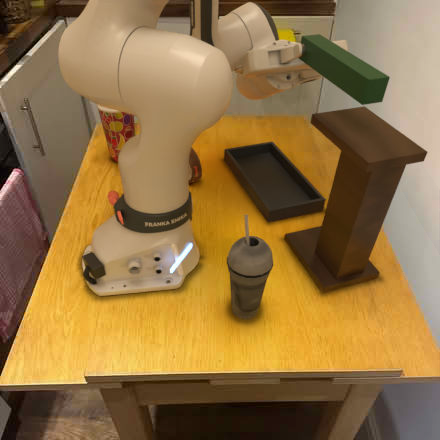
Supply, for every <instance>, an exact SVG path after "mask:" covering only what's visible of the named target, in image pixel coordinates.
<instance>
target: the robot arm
mask: <svg viewBox="0 0 440 440" xmlns="http://www.w3.org/2000/svg"><path fill="white" fill-rule="evenodd" d="M169 1H170V0H88V2H87V4H86V5H85V7H84V9H83V10H82V12H81V13H80V15H79V16H78V17H76V19H75V20H73V22H71V23H70V24H69V25H67V26H66V28H65V30H64V31H63V32H62V34H61V38H60V40H59V44H58V55H57V56H58V66H59V69H60V72H61V75H62V78H63V80H64V82H65V84H66V85H67V86H68V88H70V89H71V90H72V91H73V92H75V93H76V94H78V95H80V96H81V97H83V98H85V99H87V100H88V101H90V102H92V103H94V104H95V105H96V106H97V105H100V106H103V107H107V108H111V109H114V110H118V111H121V112H125V113H128V114H132V115H134V117H136V119H137V121H138V123H139V130H140V131H139V132H140V133H138V134H135V136H134V137H132V138H130V139H129V140H128V141H127V142H126V143H125V144H124V145H123V147H122V149H121V151H120V153H119V156H118V162H117V165H118V170H119V177H120V182H121V187H122V194H121V196H120V194H119V192H118V191H116V190H110V191H108V193H107V199H108V202H109V204H110V205H111V206H113V211H114V212H113V213H114V214H112V215H111V216H109V218H107V219H106V220H105V221H104V222H102V223H101V224H100V225H99V226H97V227H96V228H95V230H94V231H93V233H92V237H91V244H89V245H87V246H86V248H85V249H84V252H83V255H81V258H82V259H81V260H82V261H81V265H82V272H83V275H82V276H83V278H84V280H85V282H86V285H87V286H88V288H89V289H90V290H91V291H92V292H93V293H94V294H95V295H97V296H99V297H106V296H115V295H117V296H118V295H127V294H137V293H138V294H139V293H146V292H156V291H166V290H167V291H168V290H176V289H179V288H181V286H183V283H184V281H185V279H186V277H187V276H188V275H189V274H190V273H191V272H192V271H193V270H194V269H196V266H197V265H198V263H199V261H200V255H201V253H200V249H199V247H198V244H197V242H196V238H195V235H194V229H193V224H192V221H193V214H194V206H193V197H192V192H191V191H190V187H189V184H190V183H189V178H188V175H189V155H190V151H191V148H193V145H194V143H195V141H196V140H197V139H198V137H199V136H200V135H201V134H202V133H203V132H205V131H207V130H209V129H210V128H212V127H213V126H214V125H216V124H217V123H218V122H220V120H221V119H222V117H224V115H225V113H226V112H227V110H228V108H229V106H230V104H231V100H232V96H233V91H234V80H233V79H234V78H233V77H234V76H233V72H234V73H235V74H236V77H235V83H236V84H235V85H236V88H237V90H238V92H239V93H240V94H241V95H242V96H243V97H245V98H246V99H248V100H252V101H259V100H265V99H267V98H271V97H273V96H274V95H276V94H280V93H282V92H285V91H287V90H290V89H293V88H295V87H297V86H299V85H302V84H305V83H310V82H314V81H317V80H320V79H322V77H323V76H322V75H321V74H319V73H318V72H316V71H315V70H314V69H312V68H311V67H310V66H308V65H307V64H305V63H304V62H303V61H301V60H300V59H299V57H303V56H305V55H306V53H307V50H306V44H305V43H303V44H301V42H295V41H290V40H287V39H280V38H279V37H280V36H279V32H278V29H277V26H276V23H275V21H274V19H273V17H272V15H271V13H269V11H268V10H267V9H265V7H264V6H262V5H260V4H259V3H256V2H253V1H247V2H246V3H244V4H242V5H241V6H239V7H237V8H235V9H233V10H232V11H230V12H229V13H227V14H226V15H223V16H222V17H220V18H219V0H189V34H184V33H179V32H176V31H175V32H174V31H170V30H164V29H160V28H157V27H158V26H157V25H158V22H159V19H160V16H161V13H162V12H163V10H164V8H165V7H166V6H167V4H168V3H169ZM330 41H331V42H333V43H335V44H336V45H338V46H340V47H341V48H343V49H345V50H346V51H348V52H349V46H348V41H347V40H346V39H339V40H330Z"/></svg>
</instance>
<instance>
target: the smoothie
mask: <svg viewBox="0 0 440 440" xmlns="http://www.w3.org/2000/svg"><path fill="white" fill-rule="evenodd" d="M96 107H97V111H98V114H99V118H100V121H101V125H102V129H103V133H104V137H105V141H106V146H107V149H108V152H109V153H108V154H109V156H110V157H111V158H112V160H113V161H114V162H117V163H118V156H119V153H120V151H121V149H122V147H123V145H124V144H125V143H126V142H127V141H128V140H129V139H130V138H132V137H134V136H136V124H135V116H134V115H132V114H128V113H125V112H121V111H118V110H114V109H111V108H107V107H103V106H100V105H97V104H96Z"/></svg>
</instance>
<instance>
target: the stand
mask: <svg viewBox="0 0 440 440" xmlns="http://www.w3.org/2000/svg"><path fill="white" fill-rule="evenodd" d="M310 124H311V125H312V126H313V127H314V128H315V129H317V130H318V131H319V132H320V133H321V134H322V135H323V136H324V137H325V138H326V139H328V140H329V141H330V142H331V143H332V144H333V145H334V146H335V147H337V148H338V149H339V150H340V152H339V153H340V154H339V157H338V161H337V165H336V168H335V172H334V177H333V181H332V185H331V188H330V192H329V195H328V199H327V203H326V208H325V211H324V215H323V219H322V222H321V225H319V226H315V227H311V228H310V227H309V228H306V229H301V230H295V231H292V232H287V233H285V234H284V242H285V243H286V244H287V245H288V247H289V248H290V249H291V251H292V253H293V254H294V255H295V256H296V258H297V259H298V261H299V262H300V264H301V265H302V267H303V268H304V269H305V271H306V272H307V273H308V274H309V276H310V278H311V280H313V282H314V283H315V284H316V286H317V288H318V289H319V290H320V292H321V293H328V292H332V291H335V290H339V289H341V288H342V289H343V288H346V287H350V286H354V285H358V284H361V283H364V282H368V281H372V280H375V279H378V278H379V276H380V274H381V272H380V271H379V270H378V269H377V267H376V266H375V265H374V264H373V262H372V261H370V258H371V255H372V252H373V250H374V248H375V245H376V242H377V240H378V237H379V235H380V232H381V230H382V227H383V224H384V222H385V220H386V217H387V214H388V212H389V209H390V207H391V204H392V202H393V199H394V197H395V194H396V192H397V189H398V187H399V184H400V183H401V182H400V181H401V179H402V177H403V174H404V171H405V169H406V167H407V165H411V164H417V163H422V162H424V161H425V159H426V157H427V155H428V153H429V151H427V150H426V149H424V148H423V147H421V146H420V145H419V144H418V143H416V142H415V141H413V140H412V139H410V138H409V137H408V136H407V135H405V134H404V133H402V132H401V131H399V130H398V129H397V128H395V127H394V126H393V125H391V124H390V123H389V122H387V121H385V120H384V119H383V118H381V117H380V116H379V115H377V114H376V113H374V111H371V110H370V109H369V108H368V107H366V106H365V105H363V106H358V107H352V108H344V109H337V110H329V111H325V112H324V111H323V112H315V113H312V114H311V118H310Z"/></svg>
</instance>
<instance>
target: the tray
mask: <svg viewBox="0 0 440 440" xmlns="http://www.w3.org/2000/svg"><path fill="white" fill-rule="evenodd" d="M223 161H224V163H225V164H226V165H227V167H228V169H229V170H231V173H232V174H233V175H234V177H235V178H236V180H237V181H238V182H239V184H240V185H241V186H242V188H243V189H244V191H245V192H246V193H247V195H248V196H249V198H250V199H251V200H252V203H254V205H255V206H256V208H257V209H258V211H259V212H260V213H261V215H262V216H263V218H264V219H265V221H266V222H267V223H272V222H278V221H282V220H285V219H286V220H288V219H291V218H296V217H300V216H301V217H302V216H305V215H310V214H314V213H320V212H323V211H324V208H325V203H326V200H327V199H326V198H325V197H324V196H323V194H322V193H321V192H320V191H319V190H318V189H317V188H316V187H315V186H314V185H313V183H311V182H310V181H309V179H308V178H307V177H306V176H305V175H304V174H303V172H301V170H299V168H298V167H297V166H296V165H295V164H294V163H293V162H292V161H291V160H290V158H288V156H287V155H286V154H285V153H284V152H283V151H282V150H281V149H280V148H279V147H278V145H276V143H275V142H274V141H267V142H261V143H253V144H248V145H242V146H236V147H229V148H223Z"/></svg>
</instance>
